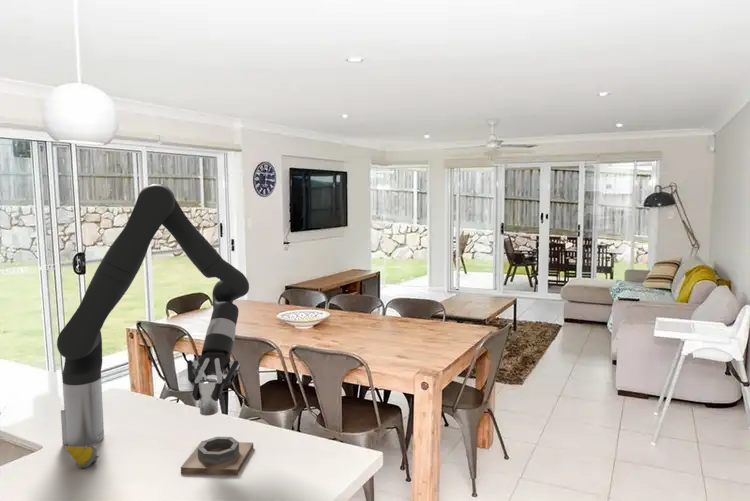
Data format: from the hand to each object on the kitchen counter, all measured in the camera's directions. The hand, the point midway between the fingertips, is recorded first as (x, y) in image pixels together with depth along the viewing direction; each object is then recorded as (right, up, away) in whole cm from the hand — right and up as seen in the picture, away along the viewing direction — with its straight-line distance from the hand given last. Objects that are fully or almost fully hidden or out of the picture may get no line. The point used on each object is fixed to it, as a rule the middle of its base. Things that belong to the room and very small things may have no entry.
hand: (205, 399), depth 137 cm
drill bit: (-30, -17, -1) cm, 34 cm away
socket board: (+2, -16, +3) cm, 17 cm away
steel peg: (0, -4, +2) cm, 5 cm away
